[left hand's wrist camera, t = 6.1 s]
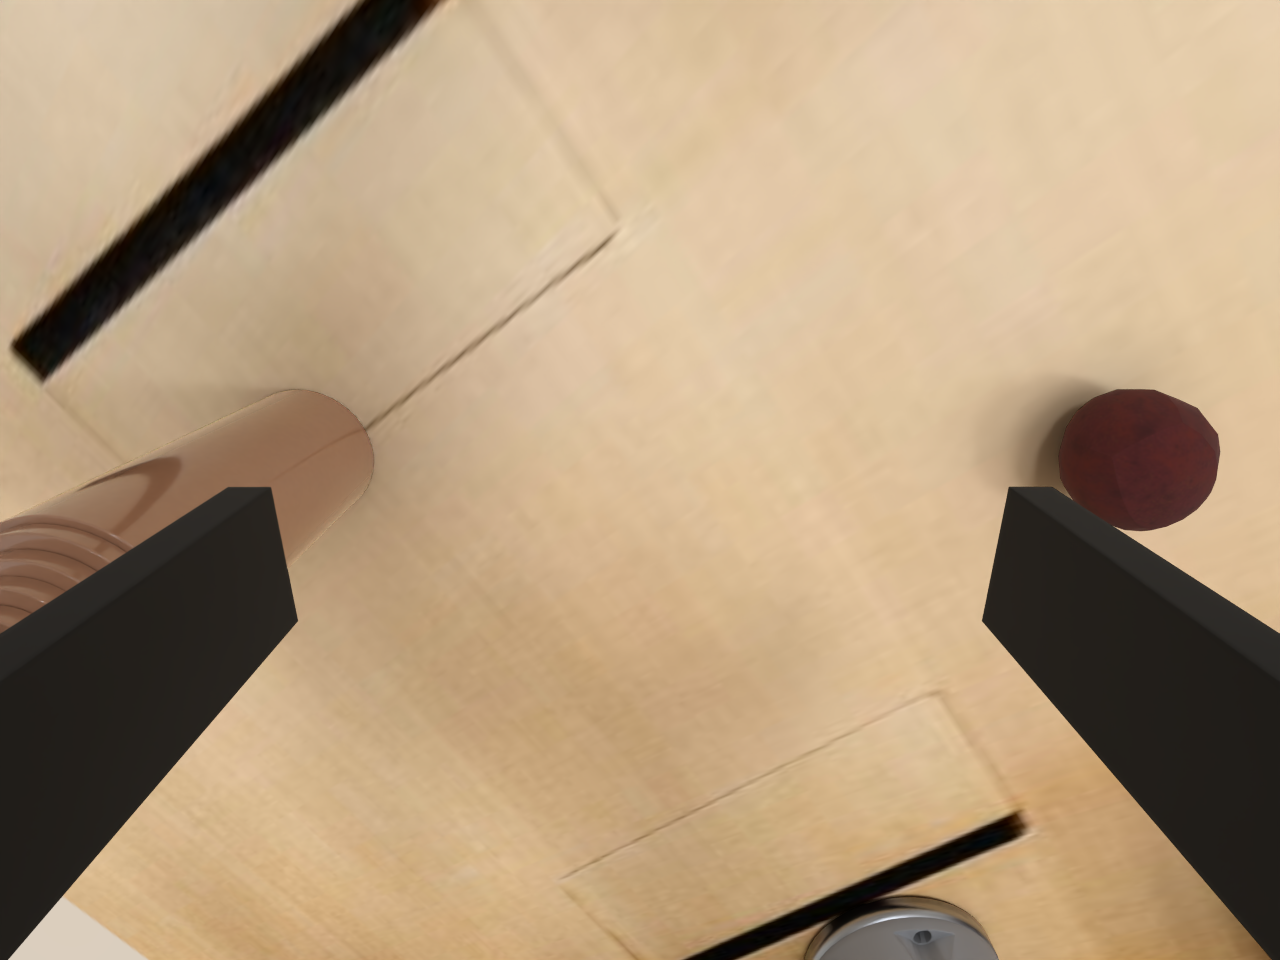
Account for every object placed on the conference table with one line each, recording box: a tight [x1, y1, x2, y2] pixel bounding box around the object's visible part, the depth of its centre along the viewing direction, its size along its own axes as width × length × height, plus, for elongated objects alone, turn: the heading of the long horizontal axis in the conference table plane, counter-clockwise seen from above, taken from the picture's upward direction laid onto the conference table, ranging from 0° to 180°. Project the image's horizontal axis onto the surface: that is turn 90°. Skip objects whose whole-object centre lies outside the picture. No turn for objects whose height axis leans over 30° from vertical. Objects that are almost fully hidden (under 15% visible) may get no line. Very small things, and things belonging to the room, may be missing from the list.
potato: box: [1059, 389, 1220, 531], centre depth 38 cm, size 7×8×7 cm
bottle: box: [0, 390, 374, 633], centre depth 30 cm, size 8×8×25 cm
